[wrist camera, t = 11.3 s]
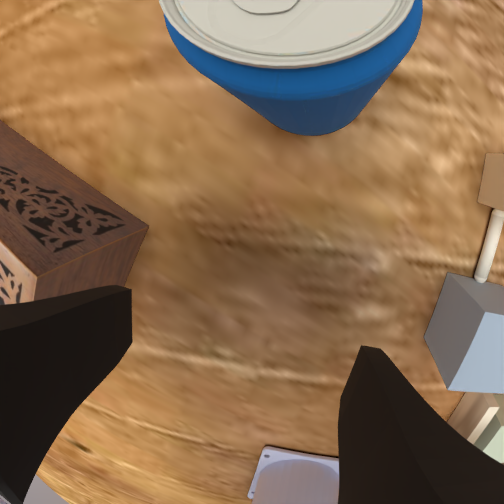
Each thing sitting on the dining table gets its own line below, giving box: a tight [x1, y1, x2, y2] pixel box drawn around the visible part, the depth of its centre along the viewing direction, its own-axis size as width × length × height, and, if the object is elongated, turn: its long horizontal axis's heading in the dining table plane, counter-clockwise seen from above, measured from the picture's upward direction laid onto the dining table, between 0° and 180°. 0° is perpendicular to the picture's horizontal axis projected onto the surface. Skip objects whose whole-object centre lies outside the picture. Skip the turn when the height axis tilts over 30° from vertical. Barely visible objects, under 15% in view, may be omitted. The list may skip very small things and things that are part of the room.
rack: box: [447, 392, 504, 465], centre depth 18 cm, size 8×17×4 cm, turn 81°
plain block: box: [473, 394, 504, 463], centre depth 17 cm, size 4×4×4 cm
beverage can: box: [159, 0, 423, 136], centre depth 10 cm, size 6×6×12 cm
